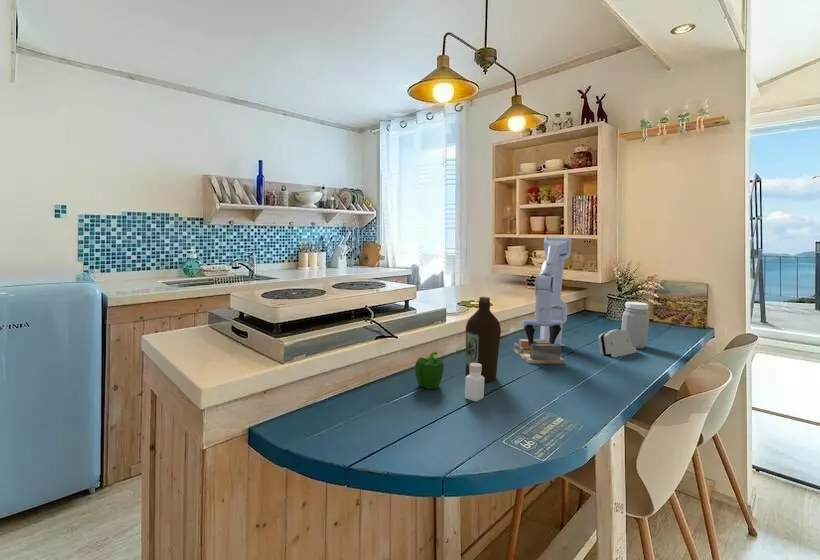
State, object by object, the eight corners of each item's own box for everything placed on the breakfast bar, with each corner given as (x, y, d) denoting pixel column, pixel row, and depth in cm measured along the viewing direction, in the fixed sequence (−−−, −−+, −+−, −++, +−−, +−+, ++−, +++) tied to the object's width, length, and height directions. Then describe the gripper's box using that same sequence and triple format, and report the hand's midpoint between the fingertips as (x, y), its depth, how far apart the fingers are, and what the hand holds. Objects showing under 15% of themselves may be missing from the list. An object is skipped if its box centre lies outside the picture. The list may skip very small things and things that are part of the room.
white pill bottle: (476, 402, 111) (478, 367, 110) (463, 398, 113) (465, 364, 112) (484, 398, 114) (486, 364, 113) (471, 394, 116) (473, 361, 115)
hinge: (612, 357, 157) (606, 331, 158) (601, 358, 160) (595, 332, 162) (637, 352, 165) (631, 326, 167) (626, 353, 169) (620, 328, 171)
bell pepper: (422, 393, 116) (423, 358, 115) (410, 383, 124) (411, 350, 123) (448, 389, 120) (450, 355, 118) (435, 380, 127) (437, 347, 126)
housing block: (531, 352, 155) (531, 339, 154) (544, 352, 155) (545, 339, 155) (536, 356, 150) (537, 342, 149) (549, 356, 150) (550, 342, 150)
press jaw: (518, 347, 161) (519, 339, 161) (544, 347, 162) (544, 339, 161) (520, 349, 158) (521, 340, 158) (546, 349, 159) (547, 341, 159)
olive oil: (485, 370, 138) (489, 294, 135) (505, 380, 128) (509, 299, 126) (457, 373, 134) (460, 295, 131) (475, 385, 124) (479, 301, 121)
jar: (622, 341, 182) (625, 300, 180) (647, 345, 176) (652, 303, 174) (617, 346, 174) (621, 303, 172) (644, 350, 168) (649, 306, 166)
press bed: (513, 350, 162) (514, 334, 162) (546, 350, 164) (547, 334, 163) (528, 363, 147) (529, 345, 146) (564, 363, 148) (565, 346, 147)
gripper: (527, 310, 146) (525, 348, 148) (568, 311, 147) (565, 348, 149) (520, 306, 153) (518, 343, 155) (559, 307, 154) (556, 343, 156)
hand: (541, 345), depth 152 cm, fingers open, 7 cm apart
